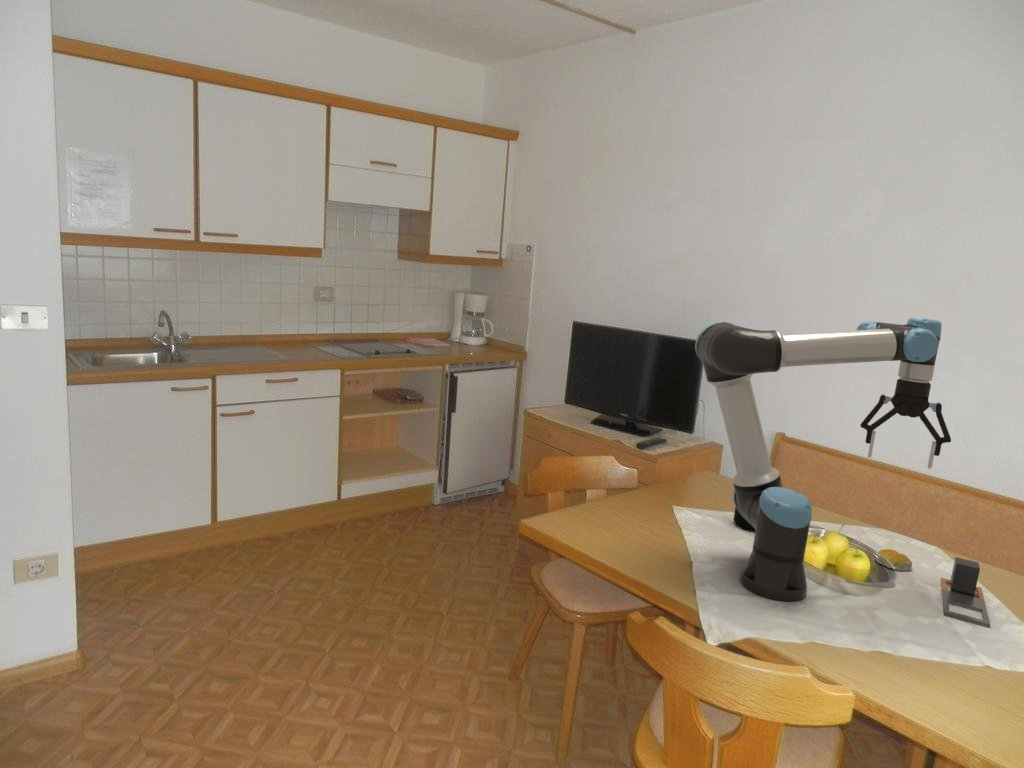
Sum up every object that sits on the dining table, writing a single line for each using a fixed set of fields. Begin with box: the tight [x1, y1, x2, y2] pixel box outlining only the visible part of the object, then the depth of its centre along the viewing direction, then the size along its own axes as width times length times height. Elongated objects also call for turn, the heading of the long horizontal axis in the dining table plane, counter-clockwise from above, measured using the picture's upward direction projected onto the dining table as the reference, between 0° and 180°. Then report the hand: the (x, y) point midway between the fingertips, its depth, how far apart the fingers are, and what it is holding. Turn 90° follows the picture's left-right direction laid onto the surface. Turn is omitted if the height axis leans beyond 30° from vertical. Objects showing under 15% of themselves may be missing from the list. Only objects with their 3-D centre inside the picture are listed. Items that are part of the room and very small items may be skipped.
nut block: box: [949, 556, 981, 597], centre depth 179 cm, size 5×5×8 cm
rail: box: [940, 577, 991, 628], centre depth 174 cm, size 24×9×1 cm, turn 151°
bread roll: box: [877, 548, 913, 572], centre depth 195 cm, size 8×9×4 cm
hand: (898, 461), depth 181 cm, fingers open, 13 cm apart
